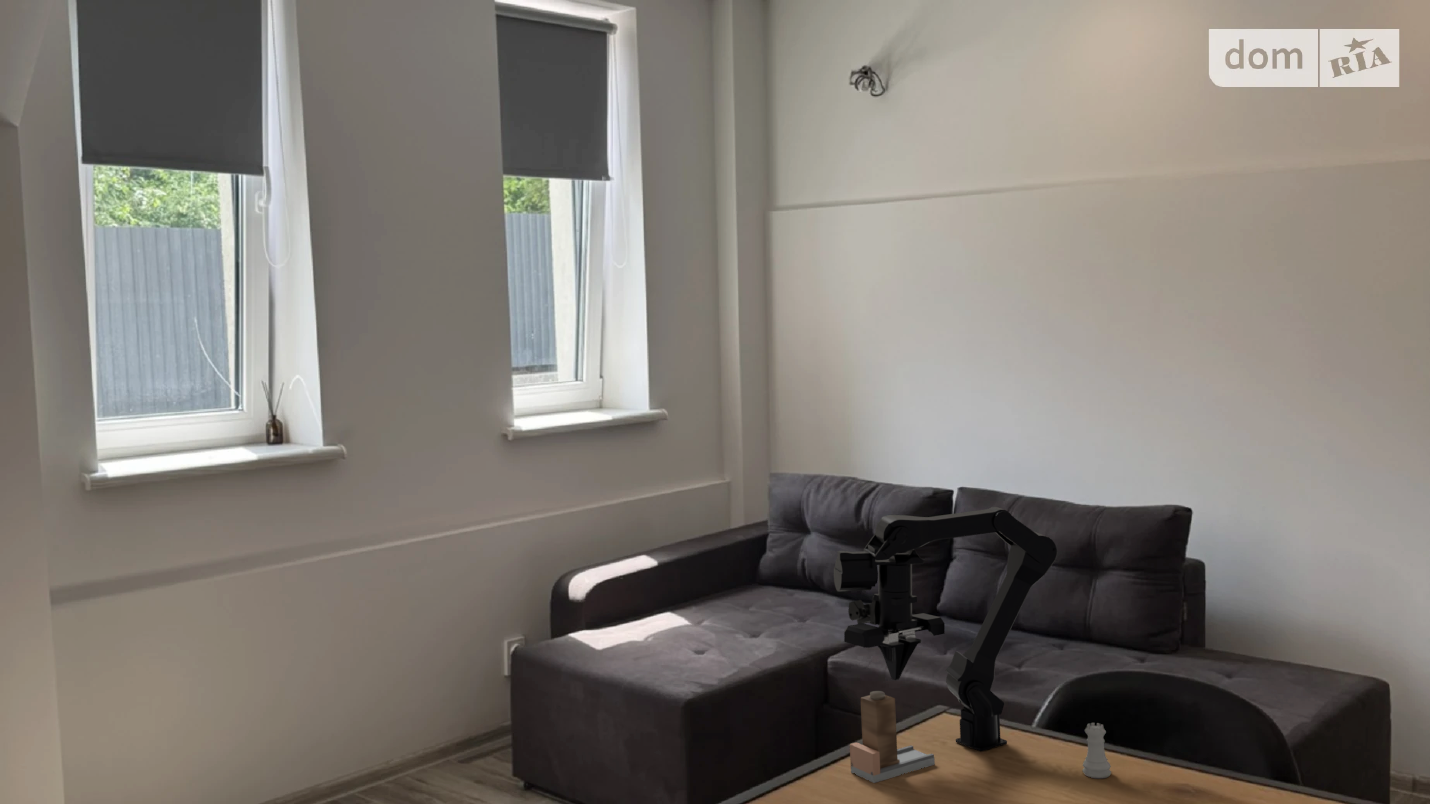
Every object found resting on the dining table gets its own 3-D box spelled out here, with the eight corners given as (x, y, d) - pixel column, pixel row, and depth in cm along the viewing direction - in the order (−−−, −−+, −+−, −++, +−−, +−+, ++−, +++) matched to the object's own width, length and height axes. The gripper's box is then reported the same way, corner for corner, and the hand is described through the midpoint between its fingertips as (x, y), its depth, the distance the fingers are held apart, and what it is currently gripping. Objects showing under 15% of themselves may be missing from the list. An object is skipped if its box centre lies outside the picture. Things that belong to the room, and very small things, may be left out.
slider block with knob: (884, 757, 200) (880, 687, 199) (899, 764, 196) (896, 692, 196) (861, 764, 197) (858, 693, 197) (876, 771, 194) (873, 698, 193)
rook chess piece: (1113, 779, 188) (1111, 730, 188) (1083, 779, 189) (1082, 729, 189) (1109, 769, 193) (1108, 721, 192) (1081, 768, 194) (1079, 720, 193)
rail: (911, 754, 204) (909, 727, 204) (934, 764, 199) (933, 736, 199) (851, 772, 197) (849, 744, 197) (873, 783, 192) (872, 753, 192)
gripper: (902, 577, 216) (902, 662, 217) (823, 588, 206) (823, 677, 206) (946, 586, 207) (946, 675, 208) (866, 598, 197) (866, 692, 197)
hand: (895, 679), depth 205 cm, fingers closed
